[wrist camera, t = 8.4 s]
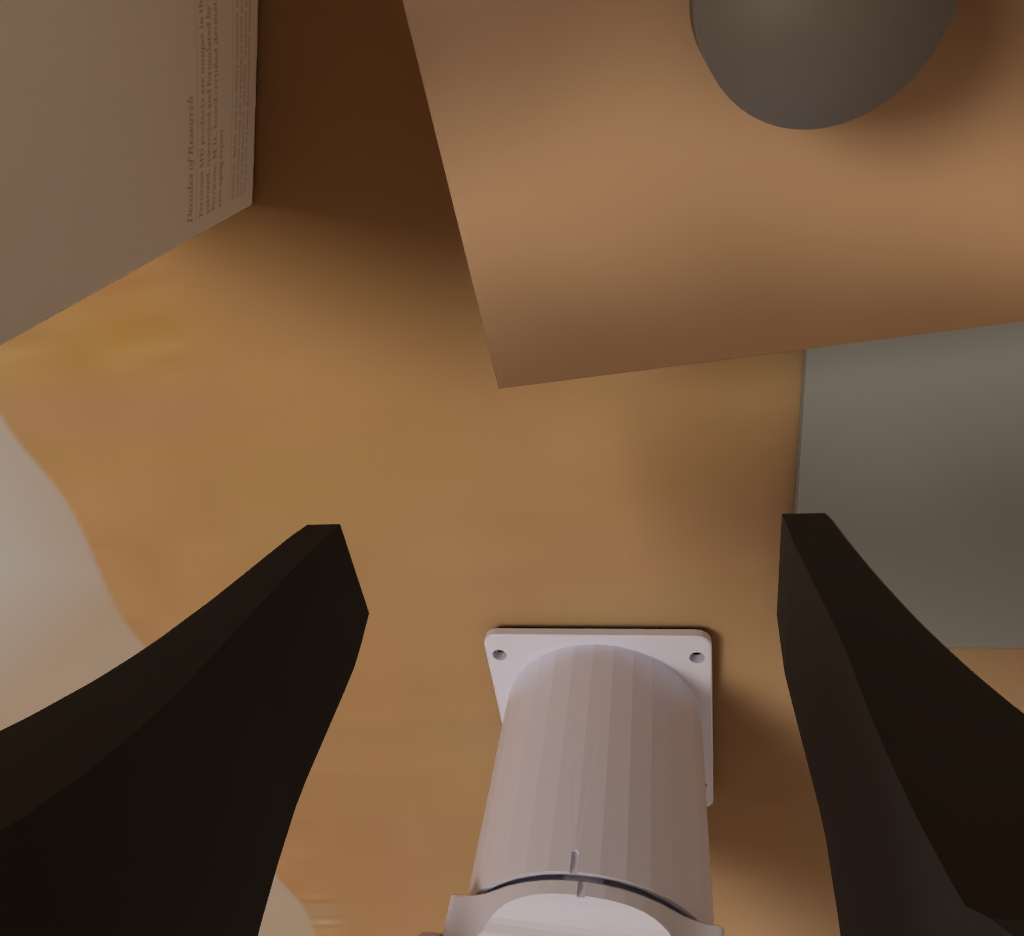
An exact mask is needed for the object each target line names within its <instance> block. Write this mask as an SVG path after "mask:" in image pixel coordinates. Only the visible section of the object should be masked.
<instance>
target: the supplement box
mask: <svg viewBox="0 0 1024 936" xmlns="http://www.w3.org/2000/svg"><path fill="white" fill-rule="evenodd" d="M257 29H258V0H0V345H1V344H3V343H5V342H7V341H9V340H11V339H13V338H14V337H16V336H18V335H20V334H22V333H24V332H25V331H27V330H29V329H31V328H32V327H34V326H36V325H38V324H40V323H41V322H43V321H45V320H47V319H48V318H50V317H52V316H54V315H55V314H57V313H59V312H61V311H63V310H64V309H66V308H68V307H70V306H72V305H73V304H75V303H77V302H79V301H81V300H82V299H84V298H86V297H88V296H90V295H91V294H93V293H95V292H97V291H99V290H100V289H102V288H104V287H106V286H107V285H109V284H111V283H113V282H115V281H116V280H118V279H120V278H122V277H124V276H126V275H127V274H129V273H131V272H133V271H134V270H136V269H138V268H139V267H141V266H143V265H145V264H147V263H148V262H150V261H152V260H154V259H155V258H157V257H159V256H161V255H163V254H164V253H166V252H168V251H170V250H171V249H173V248H175V247H177V246H179V245H180V244H182V243H184V242H186V241H188V240H189V239H191V238H193V237H195V236H197V235H198V234H200V233H202V232H204V231H206V230H207V229H209V228H211V227H213V226H214V225H216V224H218V223H220V222H222V221H223V220H225V219H227V218H229V217H230V216H232V215H234V214H236V213H238V212H239V211H241V210H243V209H245V208H247V207H250V205H251V204H252V193H253V168H254V131H255V105H256V63H257Z"/></svg>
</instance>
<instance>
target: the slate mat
mask: <svg viewBox="0 0 1024 936" xmlns="http://www.w3.org/2000/svg"><path fill="white" fill-rule="evenodd" d="M800 513H826V514H827V515H828V516H829V517H830V518H831V519H832V520H833V521H834V523H835V524H836V525H837V527H838V528H839V529H840V531H841V532H842V533H843V534H844V536H845V537H846V538H847V540H848V541H849V542H850V543H851V545H852V546H853V547H854V548H855V550H856V551H857V552H858V553H859V555H860V556H861V557H862V558H863V559H864V561H865V562H866V563H867V564H868V565H869V567H870V568H871V569H872V570H873V571H874V572H875V574H876V575H877V576H878V577H879V578H880V579H881V580H882V582H883V583H884V584H885V585H886V586H887V587H888V588H889V589H890V590H891V591H892V593H893V594H894V595H895V596H896V597H897V598H898V599H899V600H900V601H901V602H902V603H903V604H904V606H905V607H906V608H907V609H908V610H909V611H910V612H911V613H912V614H913V615H914V616H915V617H916V618H917V619H918V620H919V621H920V622H921V623H922V624H923V625H924V626H925V627H926V628H927V629H928V630H929V631H930V632H931V633H932V634H933V635H934V636H935V637H936V638H937V639H938V640H939V641H940V642H941V643H942V644H943V645H944V646H945V647H946V648H1005V649H1024V321H1023V322H1016V323H1008V324H1000V325H992V326H984V327H976V328H969V329H961V330H953V331H945V332H937V333H930V334H922V335H914V336H906V337H898V338H890V339H883V340H875V341H867V342H859V343H851V344H844V345H836V346H828V347H820V348H812V349H804V352H803V369H802V386H801V402H800V419H799V436H798V453H797V470H796V487H795V503H794V514H800Z"/></svg>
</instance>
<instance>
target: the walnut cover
mask: <svg viewBox="0 0 1024 936" xmlns="http://www.w3.org/2000/svg"><path fill="white" fill-rule="evenodd" d="M402 1H403V5H404V9H405V13H406V17H407V21H408V25H409V29H410V33H411V37H412V41H413V45H414V49H415V53H416V57H417V61H418V65H419V69H420V73H421V77H422V81H423V85H424V89H425V93H426V97H427V101H428V105H429V109H430V113H431V117H432V121H433V125H434V129H435V134H436V138H437V142H438V146H439V150H440V154H441V158H442V162H443V166H444V170H445V174H446V178H447V182H448V186H449V190H450V194H451V198H452V202H453V206H454V210H455V214H456V218H457V222H458V226H459V230H460V234H461V238H462V242H463V246H464V250H465V254H466V258H467V262H468V266H469V271H470V275H471V279H472V283H473V287H474V291H475V295H476V299H477V303H478V307H479V311H480V315H481V319H482V323H483V327H484V331H485V335H486V339H487V343H488V347H489V351H490V355H491V359H492V363H493V367H494V371H495V375H496V379H497V383H498V387H499V389H500V388H507V387H515V386H523V385H531V384H539V383H546V382H554V381H562V380H570V379H578V378H586V377H593V376H601V375H609V374H617V373H625V372H632V371H640V370H648V369H656V368H664V367H672V366H679V365H687V364H695V363H703V362H711V361H718V360H726V359H734V358H742V357H750V356H758V355H765V354H773V353H781V352H789V351H797V350H804V349H812V348H820V347H828V346H836V345H844V344H851V343H859V342H867V341H875V340H883V339H890V338H898V337H906V336H914V335H922V334H930V333H937V332H945V331H953V330H961V329H969V328H976V327H984V326H992V325H1000V324H1008V323H1016V322H1023V321H1024V0H402Z"/></svg>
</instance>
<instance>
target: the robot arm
mask: <svg viewBox="0 0 1024 936" xmlns="http://www.w3.org/2000/svg"><path fill="white" fill-rule="evenodd" d="M368 615H369V612H368V609H367V605H366V602H365V599H364V596H363V593H362V590H361V587H360V584H359V581H358V578H357V575H356V572H355V569H354V566H353V563H352V560H351V557H350V554H349V550H348V547H347V544H346V541H345V538H344V535H343V532H342V529H341V526H340V524H327V525H307V526H305V527H304V528H302V529H301V530H299V531H298V532H296V533H295V534H294V535H292V536H291V537H290V538H289V539H287V540H286V541H285V542H283V543H282V544H281V545H280V546H278V547H277V548H276V549H275V550H273V551H272V552H271V553H270V554H268V555H267V556H266V557H265V558H263V559H262V560H261V561H260V562H258V563H257V564H256V565H255V566H254V567H252V568H251V569H250V570H249V571H247V572H246V573H245V574H244V575H242V576H241V577H240V578H239V579H237V580H236V581H235V582H234V583H232V584H231V585H230V586H229V587H227V588H226V589H225V590H224V591H222V592H221V593H220V594H219V595H217V596H216V597H215V598H213V599H212V600H211V601H210V602H208V603H207V604H206V605H204V606H203V607H201V608H200V609H199V610H197V611H196V612H195V613H193V614H192V615H191V616H189V617H188V618H187V619H185V620H184V621H183V622H181V623H180V624H179V625H177V626H176V627H175V628H173V629H172V630H170V631H169V632H168V633H166V634H165V635H164V636H162V637H161V638H160V639H158V640H157V641H155V642H154V643H152V644H151V645H149V646H148V647H146V648H145V649H143V650H142V651H140V652H139V653H137V654H136V655H134V656H133V657H131V658H130V659H128V660H127V661H125V662H124V663H122V664H120V665H119V666H118V667H115V668H114V669H112V670H111V671H109V672H108V673H106V674H104V675H103V676H101V677H99V678H98V679H96V680H94V681H93V682H91V683H89V684H88V685H86V686H84V687H82V688H80V689H79V690H77V691H75V692H73V693H71V694H69V695H68V696H66V697H64V698H62V699H60V700H59V701H57V702H55V703H53V704H51V705H49V706H48V707H46V708H44V709H42V710H40V711H39V712H37V713H35V714H33V715H31V716H29V717H27V718H25V719H24V720H22V721H20V722H17V723H16V724H13V725H11V726H9V727H7V728H5V729H3V730H1V731H0V936H258V933H259V929H260V925H261V921H262V917H263V914H264V911H265V907H266V903H267V900H268V896H269V893H270V889H271V886H272V882H273V879H274V875H275V872H276V868H277V865H278V861H279V858H280V855H281V852H282V849H283V845H284V842H285V839H286V836H287V833H288V830H289V826H290V823H291V820H292V817H293V814H294V810H295V807H296V805H297V802H298V799H299V797H300V794H301V792H302V789H303V786H304V784H305V781H306V779H307V777H308V774H309V772H310V770H311V767H312V765H313V763H314V760H315V758H316V756H317V753H318V751H319V749H320V746H321V744H322V742H323V740H324V737H325V735H326V733H327V730H328V728H329V726H330V723H331V721H332V719H333V716H334V714H335V712H336V710H337V707H338V705H339V702H340V700H341V698H342V695H343V693H344V691H345V688H346V686H347V683H348V681H349V679H350V676H351V674H352V671H353V669H354V666H355V663H356V660H357V656H358V653H359V649H360V646H361V643H362V639H363V635H364V631H365V627H366V623H367V619H368ZM777 618H778V626H779V634H780V642H781V650H782V657H783V664H784V671H785V676H786V680H787V684H788V688H789V692H790V696H791V700H792V704H793V708H794V712H795V716H796V720H797V724H798V727H799V731H800V735H801V739H802V743H803V747H804V751H805V754H806V758H807V762H808V766H809V770H810V774H811V778H812V781H813V785H814V789H815V793H816V797H817V801H818V805H819V809H820V813H821V818H822V823H823V827H824V832H825V837H826V842H827V848H828V855H829V861H830V868H831V874H832V880H833V887H834V893H835V900H836V906H837V913H838V920H839V926H840V933H841V936H1024V713H1022V712H1021V711H1020V710H1018V709H1017V708H1016V707H1014V706H1013V705H1012V704H1011V703H1009V702H1008V701H1007V700H1006V699H1005V698H1003V697H1002V696H1001V695H1000V694H998V693H997V692H996V691H995V690H994V689H992V688H991V687H990V686H989V685H988V684H986V683H985V682H984V681H983V680H982V679H981V678H979V677H978V676H977V675H976V674H975V673H974V672H973V671H971V670H970V669H969V668H968V667H967V666H966V665H965V664H964V663H962V662H961V661H960V660H959V659H958V658H957V657H956V656H955V655H954V654H953V653H952V652H950V651H949V650H948V649H947V648H946V647H945V646H944V645H943V644H942V643H941V642H940V641H939V640H938V639H937V638H936V637H935V636H934V635H933V634H932V633H931V632H930V631H929V630H928V629H927V628H926V627H925V626H924V625H923V624H922V623H921V622H920V621H919V620H918V619H917V618H916V617H915V616H914V615H913V614H912V613H911V612H910V611H909V610H908V609H907V608H906V607H905V606H904V604H903V603H902V602H901V601H900V600H899V599H898V598H897V597H896V596H895V595H894V594H893V593H892V591H891V590H890V589H889V588H888V587H887V586H886V585H885V584H884V583H883V582H882V580H881V579H880V578H879V577H878V576H877V575H876V574H875V572H874V571H873V570H872V569H871V568H870V567H869V565H868V564H867V563H866V562H865V561H864V559H863V558H862V557H861V556H860V555H859V553H858V552H857V551H856V550H855V548H854V547H853V546H852V545H851V543H850V542H849V541H848V540H847V538H846V537H845V536H844V534H843V533H842V532H841V531H840V529H839V528H838V527H837V525H836V524H835V523H834V521H833V520H832V519H831V518H830V517H829V516H828V515H827V514H826V513H800V514H782V525H781V545H780V564H779V584H778V603H777ZM484 644H485V649H486V653H487V658H488V662H489V667H490V671H491V676H492V680H493V685H494V689H495V694H496V698H497V703H498V707H499V712H500V716H501V721H502V730H501V735H500V739H499V744H498V749H497V754H496V759H495V764H494V769H493V774H492V779H491V784H490V789H489V793H488V798H487V803H486V808H485V813H484V818H483V823H482V828H481V833H480V838H479V843H478V847H477V852H476V857H475V862H474V867H473V872H472V877H471V882H470V887H469V892H468V895H458V894H454V895H452V896H451V900H450V904H449V909H448V913H447V918H446V922H445V927H444V931H443V933H436V932H428V931H426V932H423V933H421V934H419V935H418V936H725V935H724V928H723V927H721V926H719V925H714V917H713V900H712V884H711V867H710V851H709V834H708V818H707V807H708V806H710V805H711V804H712V803H713V710H712V642H711V637H710V635H709V634H708V633H707V632H705V631H702V630H697V629H551V628H495V629H491V630H489V631H488V632H487V634H486V637H485V642H484ZM497 650H502V651H504V652H499V651H497ZM696 652H698V653H702V654H699V655H695V654H692V653H696Z"/></svg>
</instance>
